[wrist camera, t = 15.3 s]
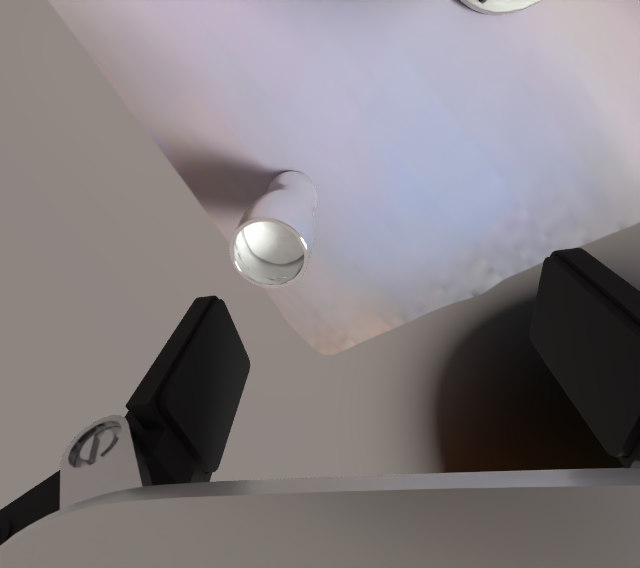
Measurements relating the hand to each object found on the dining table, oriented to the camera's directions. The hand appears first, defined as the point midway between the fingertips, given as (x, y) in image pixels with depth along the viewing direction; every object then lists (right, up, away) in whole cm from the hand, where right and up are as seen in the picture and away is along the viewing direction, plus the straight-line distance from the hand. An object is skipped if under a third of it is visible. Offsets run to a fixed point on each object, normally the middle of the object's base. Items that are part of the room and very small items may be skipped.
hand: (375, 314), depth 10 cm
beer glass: (-5, +12, +29) cm, 32 cm away
